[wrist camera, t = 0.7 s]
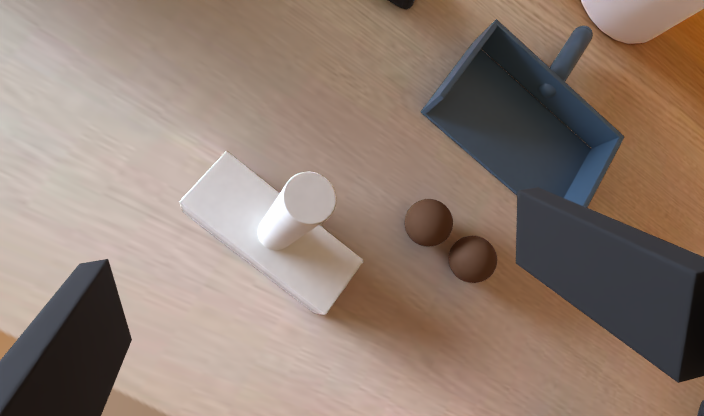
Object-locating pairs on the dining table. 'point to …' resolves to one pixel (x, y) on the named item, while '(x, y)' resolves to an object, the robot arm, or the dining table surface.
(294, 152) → the dining table surface
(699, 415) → the milk frother
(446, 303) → the dining table surface
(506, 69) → the dustpan
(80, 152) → the dining table surface
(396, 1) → the remote control
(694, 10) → the white plastic jar
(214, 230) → the white peg stand
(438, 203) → the ball
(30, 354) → the robot arm
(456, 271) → the ball
